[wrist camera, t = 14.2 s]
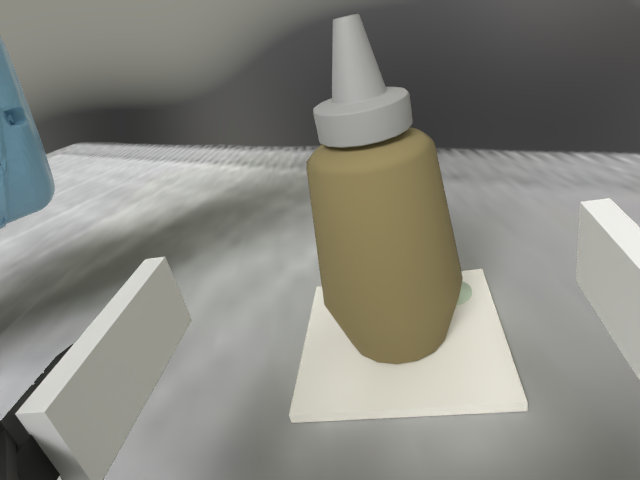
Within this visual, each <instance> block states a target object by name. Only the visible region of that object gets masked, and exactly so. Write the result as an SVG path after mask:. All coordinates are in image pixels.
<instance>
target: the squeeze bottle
mask: <svg viewBox="0 0 640 480" xmlns="http://www.w3.org/2000/svg"><path fill="white" fill-rule="evenodd" d="M332 62H333V64H332V98H331V99H329V100H326V101H324V102H322V103H320V104H319V105H318V106H316V107H315V108H314V109H313V113H314V118H315V123H316V128H317V132H318V137H319V141H320V143H321V144H322V145H321V146H320V147H318V148H317V149H316V150H315V151H314V153H313V154H312V155H311V157H310V158H309V159H308V161H307V175H308V183H309V190H310V198H311V206H312V214H313V221H314V229H315V237H316V245H317V253H318V260H319V268H320V276H321V284H322V291H323V299H324V305H325V306H326V308H327V309H328V311H329V312H330V313H331V315H332V316H333V318H334V319H335V320H336V322H337V323H338V325H339V326H340V327H341V329H342V330H343V332H344V333H345V334H346V336H347V337H348V339H349V340H350V341H351V343H352V344H353V345H354V347H355V348H356V349H357V350H358V351H359V352H360V354H361V355H363V356H365V357H367V358H369V359H371V360H373V361H376V362H380V363H389V364H402V363H407V362H413V361H418V360H420V359H422V358H424V357H426V356H428V355H430V354H432V353H433V352H435V351H436V350H437V349H438V347H439V346H440V345H441V344H442V343H443V342H444V341H445V338H446V335H447V332H448V329H449V326H450V323H451V320H452V317H453V314H454V311H455V308H456V304H457V301H458V298H459V295H460V290H461V285H462V280H463V277H462V273H461V268H460V263H459V258H458V253H457V249H456V244H455V239H454V234H453V229H452V224H451V220H450V215H449V210H448V205H447V200H446V196H445V191H444V186H443V181H442V176H441V172H440V167H439V162H438V157H437V152H436V148H435V143H434V141H432V139H431V138H430V137H429V136H428V135H426V134H425V133H423V132H422V131H420V130H418V129H414V128H411V127H410V126H411V124H412V113H411V105H410V96H409V92H408V91H406V90H405V89H404V88H399V87H385V85H384V82H383V79H382V77H381V74H380V71H379V68H378V65H377V63H376V60H375V57H374V54H373V52H372V49H371V46H370V43H369V41H368V38H367V35H366V33H365V30H364V27H363V24H362V21H361V19H360V16H359V14H354V15H349V16H345V17H340V18H337V19H334V20H333V61H332Z"/></svg>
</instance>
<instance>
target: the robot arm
mask: <svg viewBox="0 0 640 480" xmlns="http://www.w3.org/2000/svg"><path fill="white" fill-rule="evenodd" d="M54 187H55V186H54V181H53V177H52V173H51V170H50V167H49V164H48V160H47V157H46V154H45V151H44V148H43V146H42V143H41V140H40V137H39V134H38V131H37V128H36V126H35V123H34V120H33V118H32V114H31V112H30V109H29V106H28V104H27V101H26V99H25V96H24V93H23V90H22V87H21V85H20V82H19V79H18V77H17V74H16V72H15V69H14V66H13V64H12V61H11V59H10V56H9V54H8V51H7V49H6V47H5V45H4V43H3V41H2V40H1V37H0V228H3V227H4V226H5V225H6V224H7V223H9V222H12V221H14V220H17V219H19V218H22V217H24V216H27V215H29V214H32V213H34V212H37V211H39V210H41V209H43V208H44V207H46V205H48V203H49V202H50V201H51V200H52V197H53V195H54V190H55V189H54ZM576 282H577V284H578V285H579V287H580V288H581V290H582V291H583V293H584V295H585V296H586V298H587V299H588V301H589V302H590V304H591V305H592V307H593V309H594V310H595V312H596V313H597V315H598V316H599V318H600V320H601V321H602V323H603V324H604V326H605V327H606V329H607V331H608V332H609V334H610V335H611V337H612V338H613V340H614V341H615V343H616V345H617V346H618V348H619V349H620V351H621V352H622V354H623V356H624V357H625V359H626V360H627V362H628V363H629V365H630V367H631V368H632V370H633V371H634V373H635V374H636V376H637V377H638V379H639V381H640V227H639V226H638V225H637V224H636V223H635V222H634V221H633V220H632V219H630V218H629V217H628V216H627V215H626V214H625V213H624V212H623V211H622V210H621V209H620V208H619V207H618V206H617V205H616V204H615V203H614V202H613V201H612V200H611V199H610V198H607V199H600V200H592V201H584V202H580V218H579V237H578V256H577V275H576ZM191 321H192V319H191V317H190V314H189V312H188V310H187V307H186V305H185V303H184V300H183V298H182V295H181V293H180V291H179V288H178V286H177V283H176V281H175V279H174V276H173V274H172V271H171V269H170V267H169V264H168V262H167V260H166V257H158V258H150V259H145V260H144V261H143V262H142V263H141V265H140V266H139V267H138V268H137V269H136V271H135V272H134V273H133V274H132V275H131V277H130V278H129V279H128V280H127V281H126V283H125V284H124V285H123V286H122V287H121V288H120V290H119V291H118V292H117V293H116V294H115V296H114V297H113V298H112V299H111V300H110V302H109V303H108V304H107V305H106V306H105V307H104V309H103V310H102V311H101V312H100V313H99V315H98V316H97V317H96V318H95V319H94V321H93V322H92V323H91V324H90V325H89V327H88V328H87V329H86V330H85V331H84V332H83V334H82V335H81V336H80V337H79V338H78V340H77V341H76V342H75V343H74V344H72V345H71V346H69V347H68V348H67V349H65V350H64V351H63V352H62V353H60V354H59V355H58V356H56V357H55V359H54V360H53V361H52V362H51V363H50V364H49V366H48V367H47V368H46V369H45V370H44V373H42V374H41V375H40V376H39V377H38V378H37V379H36V381H35V382H34V383H35V384H34V385H31V386H30V388H29V389H28V390H27V391H26V392H25V393H24V395H23V396H22V397H21V398H20V399H19V400H18V402H17V403H16V404H15V405H14V406H13V407H12V409H11V410H10V411H9V412H8V413H7V414H6V416H5V417H4V418H3V419H2V420H1V421H0V480H57V478H58V477H59V476H60V477H61V479H62V480H103V479H104V477H105V475H106V474H107V472H108V470H109V468H110V466H111V465H112V463H113V461H114V459H115V457H116V456H117V454H118V452H119V450H120V448H121V447H122V445H123V443H124V441H125V439H126V438H127V436H128V434H129V432H130V430H131V429H132V427H133V425H134V423H135V421H136V420H137V418H138V416H139V414H140V412H141V411H142V409H143V407H144V405H145V403H146V402H147V400H148V398H149V396H150V394H151V393H152V391H153V389H154V387H155V385H156V384H157V382H158V380H159V378H160V376H161V375H162V373H163V371H164V369H165V367H166V366H167V364H168V362H169V360H170V358H171V357H172V355H173V353H174V351H175V349H176V348H177V346H178V344H179V342H180V340H181V339H182V337H183V335H184V333H185V331H186V330H187V328H188V326H189V324H190V322H191Z"/></svg>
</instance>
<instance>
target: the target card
mask: <svg viewBox="0 0 640 480" xmlns="http://www.w3.org/2000/svg"><path fill="white" fill-rule="evenodd" d="M461 273H462V277H463V280H462V285H461V290H460V295H459V298H458V301H457V304H456V308H455V311H454V314H453V317H452V320H451V323H450V326H449V329H448V332H447V335H446V338H445V341H444V342H443V343H442V344H441V345H440V346H439V347H438V349H437V350H436V351H435V352H433V353H432V354H430V355H428V356H426V357H424V358H422V359H420V360H418V361H413V362H407V363H402V364H389V363H380V362H376V361H373V360H371V359H369V358H367V357H365V356H363V355H361V354H360V352H359V351H358V350H357V349H356V348H355V347H354V345H353V344H352V343H351V341H350V340H349V339H348V337H347V336H346V334H345V333H344V332H343V330H342V329H341V327H340V326H339V325H338V323H337V322H336V320H335V319H334V318H333V316H332V315H331V313H330V312H329V311H328V309H327V308H326V306H325V305H324V299H323V291H322V286H320V287H316V292H315V297H314V301H313V306H312V310H311V315H310V320H309V324H308V329H307V334H306V338H305V343H304V348H303V352H302V357H301V361H300V366H299V371H298V375H297V380H296V385H295V389H294V394H293V399H292V403H291V408H290V412H289V417H290V420H291V423H299V422H319V421H339V420H360V419H380V418H400V417H420V416H440V415H460V414H481V413H501V412H521V411H528V402H527V399H526V396H525V393H524V391H523V388H522V385H521V382H520V379H519V376H518V373H517V370H516V367H515V364H514V361H513V358H512V355H511V352H510V349H509V346H508V343H507V341H506V338H505V335H504V332H503V329H502V326H501V323H500V320H499V317H498V314H497V311H496V308H495V305H494V302H493V299H492V296H491V293H490V291H489V288H488V285H487V282H486V279H485V276H484V273H483V270H482V269H476V270H467V271H461Z"/></svg>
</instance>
